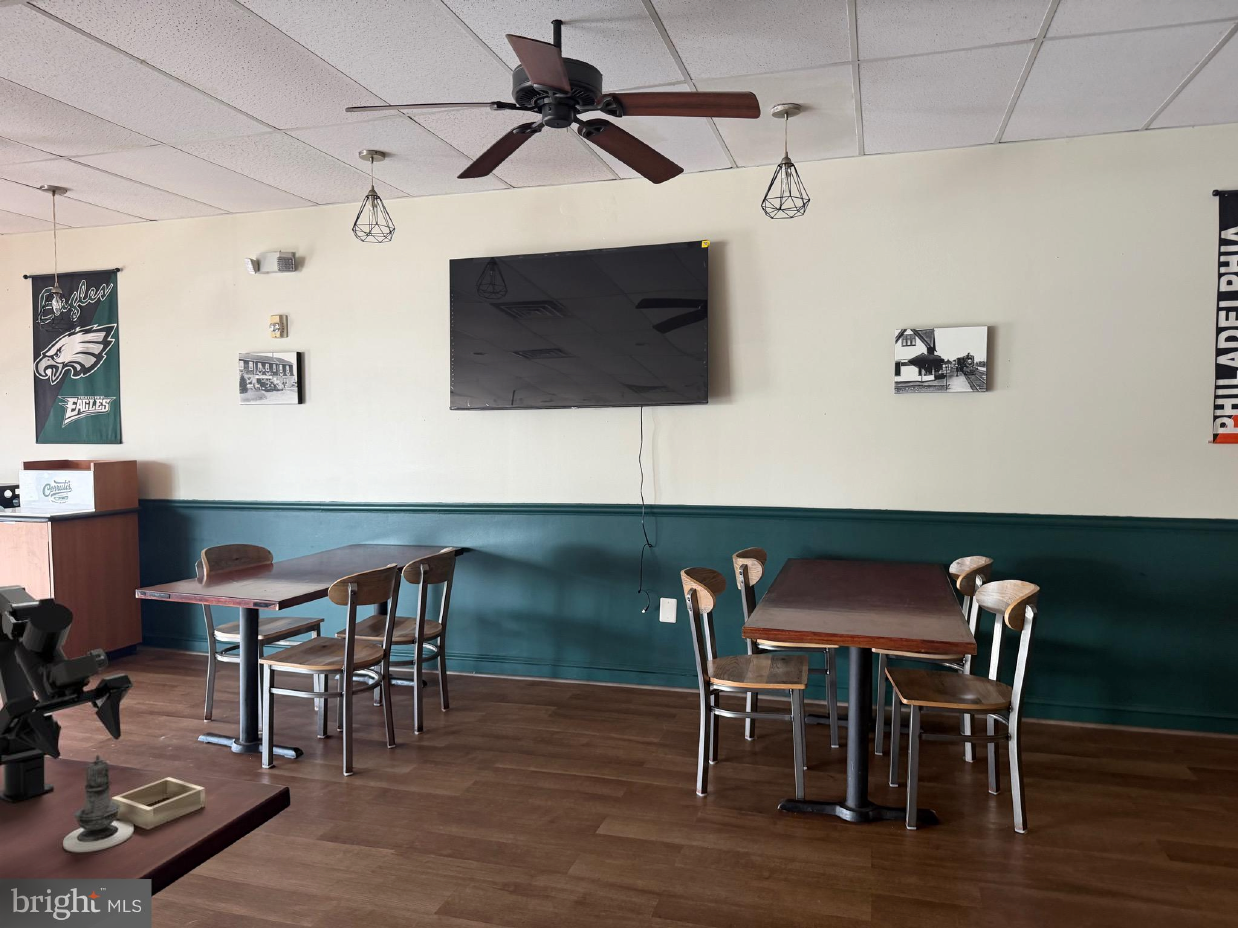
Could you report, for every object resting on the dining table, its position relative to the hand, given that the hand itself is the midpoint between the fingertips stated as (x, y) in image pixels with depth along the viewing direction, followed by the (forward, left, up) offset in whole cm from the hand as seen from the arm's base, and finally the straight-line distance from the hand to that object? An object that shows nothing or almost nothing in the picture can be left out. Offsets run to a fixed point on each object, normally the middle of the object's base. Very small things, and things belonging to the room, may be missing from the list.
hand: (89, 747), depth 127 cm
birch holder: (+4, +9, -13) cm, 16 cm away
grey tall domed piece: (+5, -1, -12) cm, 13 cm away
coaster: (+5, -1, -13) cm, 14 cm away
